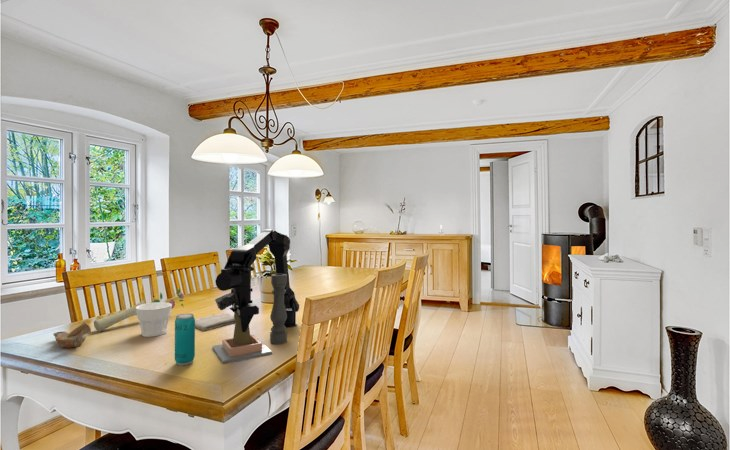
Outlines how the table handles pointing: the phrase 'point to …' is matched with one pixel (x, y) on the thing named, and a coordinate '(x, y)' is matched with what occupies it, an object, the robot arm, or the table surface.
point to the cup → (153, 318)
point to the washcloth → (214, 321)
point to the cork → (240, 333)
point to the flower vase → (127, 314)
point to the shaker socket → (240, 350)
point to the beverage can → (184, 339)
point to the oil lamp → (73, 336)
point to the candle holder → (278, 309)
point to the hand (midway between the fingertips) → (242, 330)
